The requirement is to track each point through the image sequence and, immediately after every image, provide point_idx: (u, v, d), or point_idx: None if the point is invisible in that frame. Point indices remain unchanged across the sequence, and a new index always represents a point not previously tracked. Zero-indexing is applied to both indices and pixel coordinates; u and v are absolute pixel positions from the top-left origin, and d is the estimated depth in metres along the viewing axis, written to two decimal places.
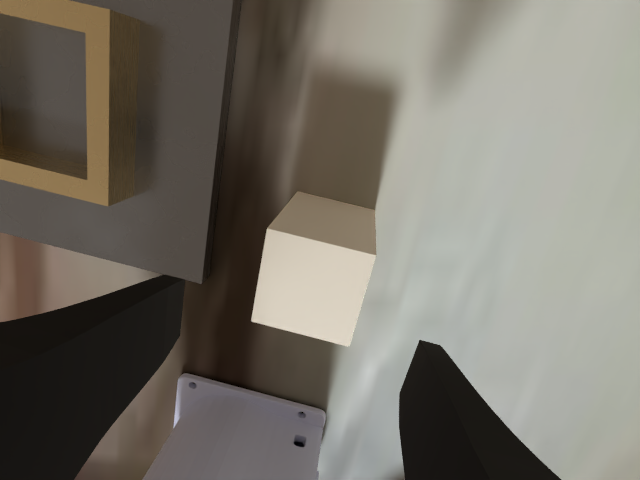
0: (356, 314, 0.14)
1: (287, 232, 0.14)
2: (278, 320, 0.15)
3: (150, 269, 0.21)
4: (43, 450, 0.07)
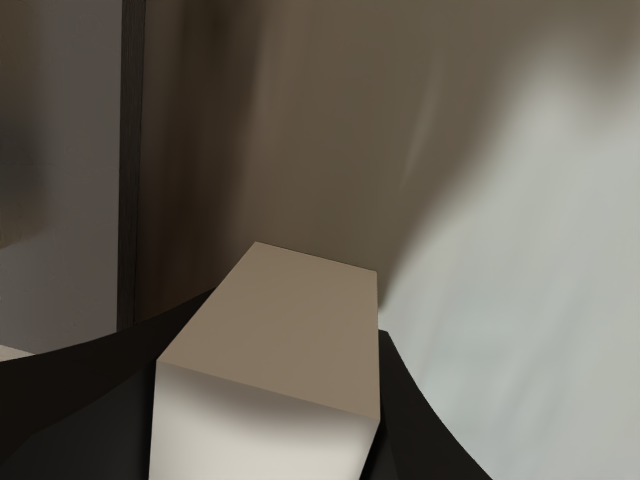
0: None
1: (200, 367, 0.07)
2: None
3: (39, 353, 0.14)
4: (122, 473, 0.07)
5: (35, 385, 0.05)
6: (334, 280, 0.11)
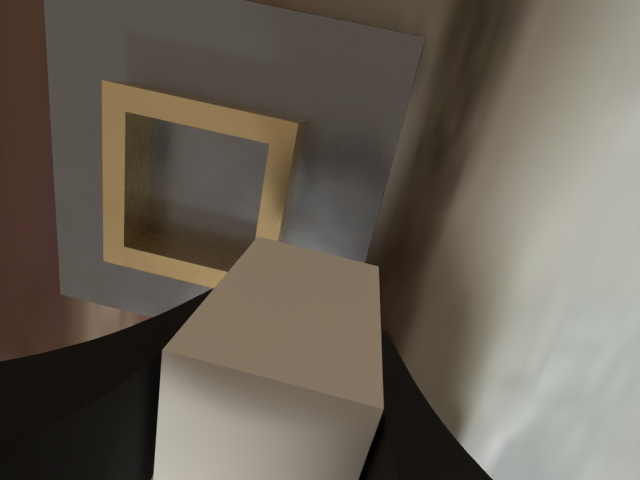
0: None
1: (205, 357, 0.07)
2: None
3: None
4: (122, 472, 0.07)
5: (35, 384, 0.05)
6: (336, 274, 0.11)
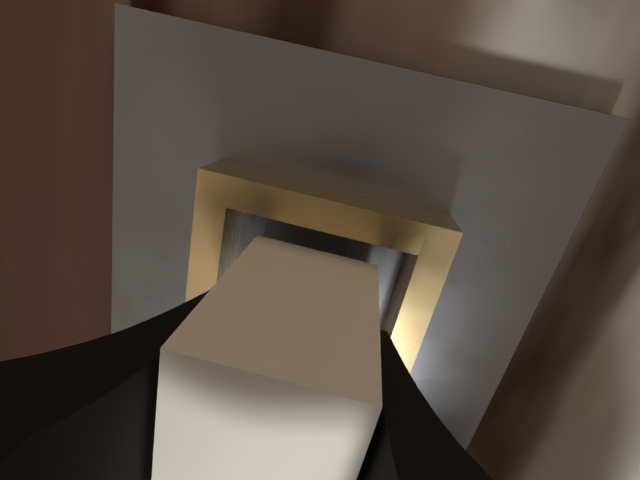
0: None
1: (203, 355, 0.07)
2: None
3: None
4: (122, 473, 0.07)
5: (35, 384, 0.05)
6: (336, 273, 0.11)
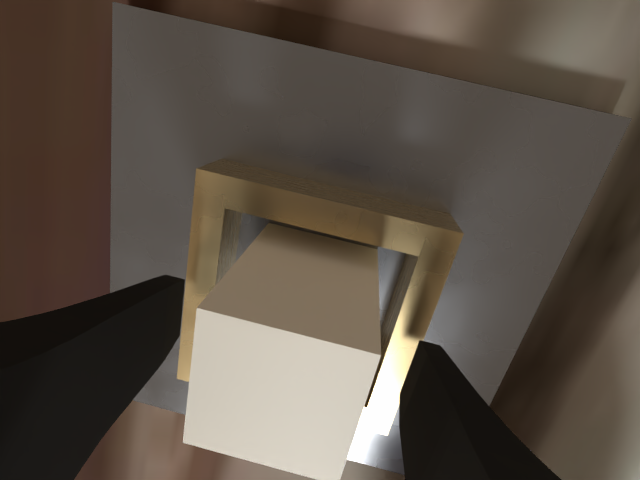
0: (348, 440, 0.09)
1: (232, 314, 0.08)
2: (225, 443, 0.09)
3: (385, 468, 0.17)
4: (43, 450, 0.07)
5: None
6: (340, 255, 0.12)
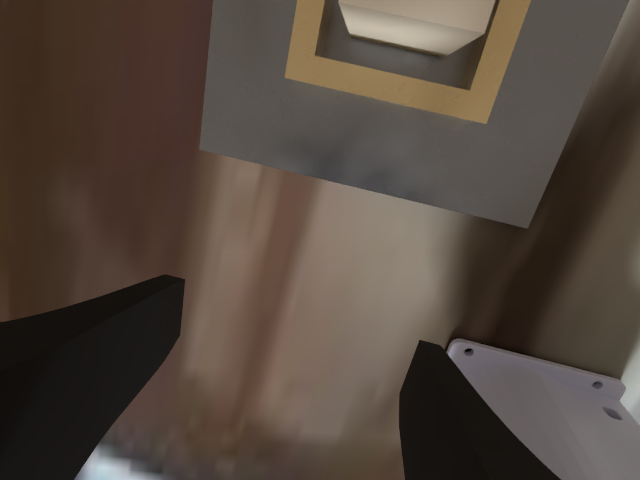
0: None
1: None
2: None
3: (466, 212, 0.18)
4: (43, 450, 0.07)
5: None
6: None
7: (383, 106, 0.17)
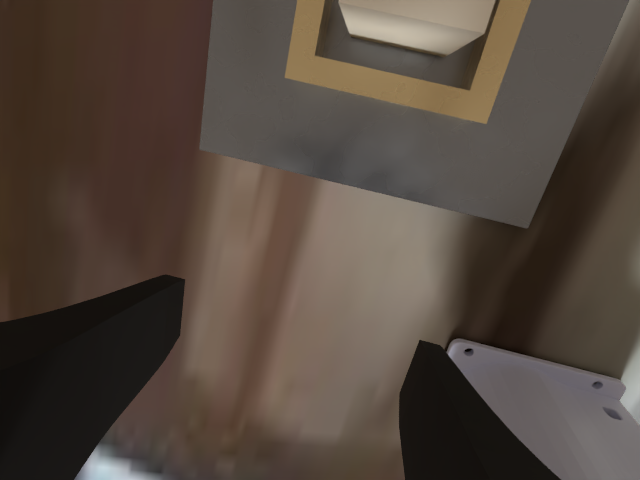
0: None
1: None
2: None
3: (466, 212, 0.18)
4: (43, 450, 0.07)
5: None
6: None
7: (383, 106, 0.17)
